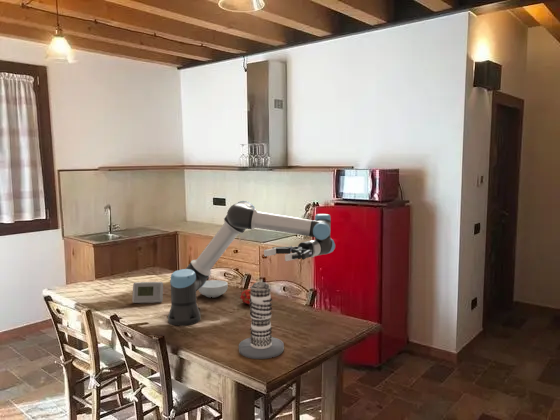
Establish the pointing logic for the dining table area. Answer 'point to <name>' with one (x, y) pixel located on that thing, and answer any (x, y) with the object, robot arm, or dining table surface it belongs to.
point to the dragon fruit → (246, 296)
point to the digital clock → (147, 292)
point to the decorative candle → (260, 315)
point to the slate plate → (265, 353)
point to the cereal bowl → (213, 288)
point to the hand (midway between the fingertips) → (274, 255)
